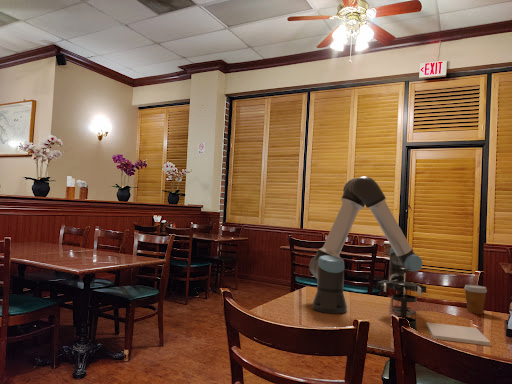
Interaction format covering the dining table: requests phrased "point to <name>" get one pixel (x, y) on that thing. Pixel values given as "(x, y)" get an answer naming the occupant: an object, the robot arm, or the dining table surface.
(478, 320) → the dining table surface
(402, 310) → the french press
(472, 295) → the disposable coffee cup
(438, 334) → the ceramic trivet
